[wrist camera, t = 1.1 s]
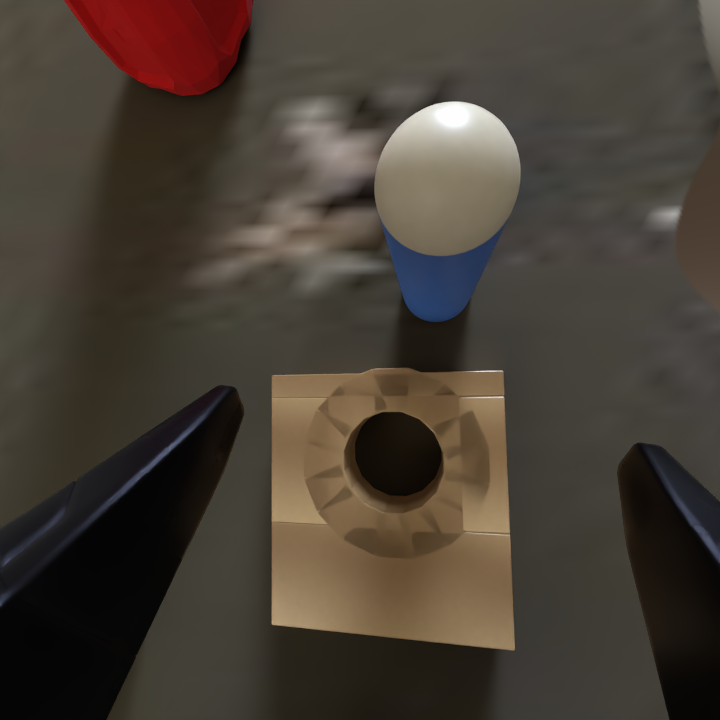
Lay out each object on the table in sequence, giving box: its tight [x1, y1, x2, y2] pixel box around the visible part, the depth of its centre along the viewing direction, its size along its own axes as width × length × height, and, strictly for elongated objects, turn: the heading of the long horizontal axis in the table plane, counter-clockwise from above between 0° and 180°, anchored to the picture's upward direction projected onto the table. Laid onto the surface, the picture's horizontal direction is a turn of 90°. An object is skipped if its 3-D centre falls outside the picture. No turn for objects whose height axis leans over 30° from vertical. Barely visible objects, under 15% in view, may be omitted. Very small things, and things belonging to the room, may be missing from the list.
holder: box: [272, 368, 515, 651], centre depth 20 cm, size 13×12×3 cm
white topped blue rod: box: [374, 102, 521, 322], centre depth 15 cm, size 4×4×14 cm
